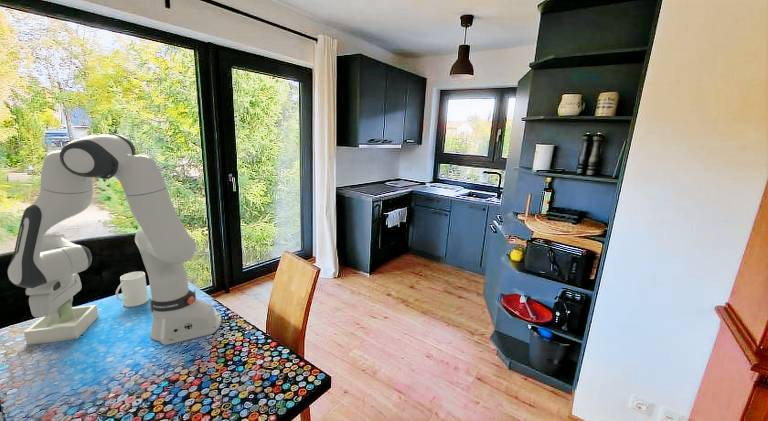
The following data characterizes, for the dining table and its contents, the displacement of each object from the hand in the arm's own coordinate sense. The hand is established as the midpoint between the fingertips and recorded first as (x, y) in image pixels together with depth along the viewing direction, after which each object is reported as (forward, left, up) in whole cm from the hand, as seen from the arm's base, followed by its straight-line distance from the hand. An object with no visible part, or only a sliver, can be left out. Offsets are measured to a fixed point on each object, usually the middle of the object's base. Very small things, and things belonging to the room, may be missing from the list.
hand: (62, 314), depth 108 cm
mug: (-14, -15, -6) cm, 22 cm away
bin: (0, 0, -6) cm, 6 cm away
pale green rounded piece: (0, 0, -2) cm, 2 cm away
